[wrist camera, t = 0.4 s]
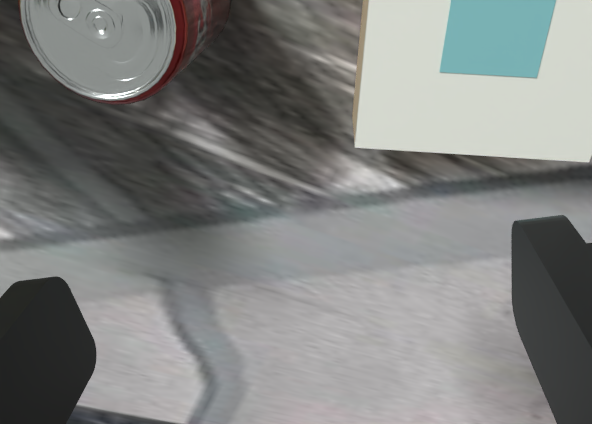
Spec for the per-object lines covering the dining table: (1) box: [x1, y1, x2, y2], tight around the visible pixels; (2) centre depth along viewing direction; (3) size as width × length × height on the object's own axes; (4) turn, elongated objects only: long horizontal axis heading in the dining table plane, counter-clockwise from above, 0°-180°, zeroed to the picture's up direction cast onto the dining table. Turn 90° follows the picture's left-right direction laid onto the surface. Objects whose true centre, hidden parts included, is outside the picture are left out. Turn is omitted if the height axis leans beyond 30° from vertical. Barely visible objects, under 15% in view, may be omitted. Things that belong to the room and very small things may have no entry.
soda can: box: [18, 0, 231, 105], centre depth 28 cm, size 7×7×12 cm
